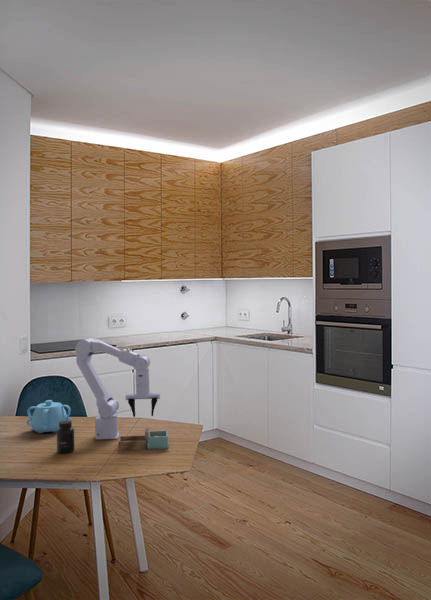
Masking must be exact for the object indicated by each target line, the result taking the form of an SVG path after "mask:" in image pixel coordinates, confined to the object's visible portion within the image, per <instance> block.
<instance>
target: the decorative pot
mask: <svg viewBox="0 0 431 600" xmlns="http://www.w3.org/2000/svg"><path fill="white" fill-rule="evenodd" d="M65 408H66V409H67V411H66V409H65ZM33 409H34V411H33V412H32V413H31V410H33ZM71 411H72V410H71V407H70V406H69V405H68V404H62V403H61V402H59V401H58V402H54V401H53V399H48V400H45V401H44V402H42V403H38V404H37V405H36V406H34V405H33V406H30V407H28V408H27V412H26V413H27V416H28V418H29V419H27V420H26V424H27V425H28V426H31V429H32V430H33V431H34V432H37V434H43V433H47V432H49V433H50V432H52V433H54V434H57V430H58V429H59V422H61V421H65V420H69V421H71V422H73V419H72V418H71V417H70V415H71Z"/></svg>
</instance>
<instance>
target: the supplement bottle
mask: <svg viewBox="0 0 431 600" xmlns="http://www.w3.org/2000/svg"><path fill="white" fill-rule="evenodd" d="M72 422H73V421H72ZM72 422H71V421H70V420H69V419H68V420H65V421H61V422H59V429H58V430H57V432H56V452H57V453H58V454H60V455H67V454H71V453H73V452H75V428H74V427H72V426H73V425H72V424H73V423H72Z"/></svg>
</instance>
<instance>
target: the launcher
mask: <svg viewBox="0 0 431 600" xmlns="http://www.w3.org/2000/svg"><path fill="white" fill-rule="evenodd" d="M119 437H120V438H119V439H120V440H119V441H118V443H117V444H118V452H123V451H125V452H126V451H127V452H128V451H144V450H145V451H146V450H148V443H146V440H145V434H138V435H137V434H136V435H134V434H133V435H119Z"/></svg>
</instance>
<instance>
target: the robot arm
mask: <svg viewBox="0 0 431 600" xmlns="http://www.w3.org/2000/svg"><path fill="white" fill-rule="evenodd" d="M74 350H75V353H76V354H75V356H76V359H75V360H76V365H77V366H78V368H79V370H80V372H81V374H82V376H83V377H84V379H85V381H86V383H87V384H88V387H89V389H90V390H91V392H92V393H93V395H94V397H95V398H96V406H97V412H98V415H99V416H96V417H95V423H94V424H95V425H94V426H95V427H94V430H95V440H97V441H98V440H117V439H119V437H120V432H119V430H118V429H119V428H118V425H119V424H118V413H117V411H118V410H119V407H120V404H119V402H118V400H117V399H115V398H114V397H113V396H112V394H110V393H109V392H108V391H107V389H106V387H105V386H104V384H103V381H102V380H101V379H100V377H99V374H98V373H97V371H96V369H95V367H94V366H93V365H92V362H91V359H92V356H93V354H94V353H96V352H102V353H105V354H108V355H111V356H113V357H116V358H117V359H118V362H121V363H123V364H124V365H125V364H126V365H128V366H130V367H133V368H134V370H135V393H130V394H125V401H127V404H128V405H129V407H130V409H131V412H132V416H133V418H134V417H136V406H135V405H136V403H135V402H136V401H135V400H151V402H150V404H151V413H150V414H151V417H154V411H155V407H156V405H157V403H158V400H160V399H161V393H155V392H154V393H152V392H151V393H150V373H149V372H150V369H149V367H150V365H151V360H150V358H149V357H148V356H146V355H145V354H142V355H141V353H136V352H134V351H131V349H130V348H124V349H119V348H117V347H116V346H113V345H111V344H108V343H106V342H104V341H102V340H101V339H98V338H94V337H91V336H90V337H87V338H85V339H81V340H79V341H78V342H77V344H76V345H75V349H74Z"/></svg>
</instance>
